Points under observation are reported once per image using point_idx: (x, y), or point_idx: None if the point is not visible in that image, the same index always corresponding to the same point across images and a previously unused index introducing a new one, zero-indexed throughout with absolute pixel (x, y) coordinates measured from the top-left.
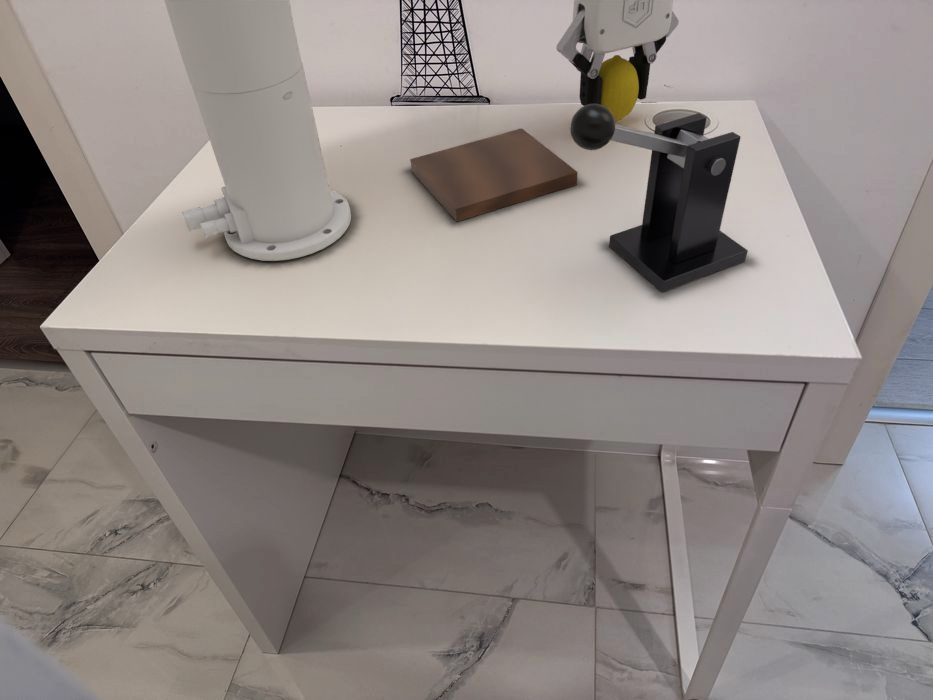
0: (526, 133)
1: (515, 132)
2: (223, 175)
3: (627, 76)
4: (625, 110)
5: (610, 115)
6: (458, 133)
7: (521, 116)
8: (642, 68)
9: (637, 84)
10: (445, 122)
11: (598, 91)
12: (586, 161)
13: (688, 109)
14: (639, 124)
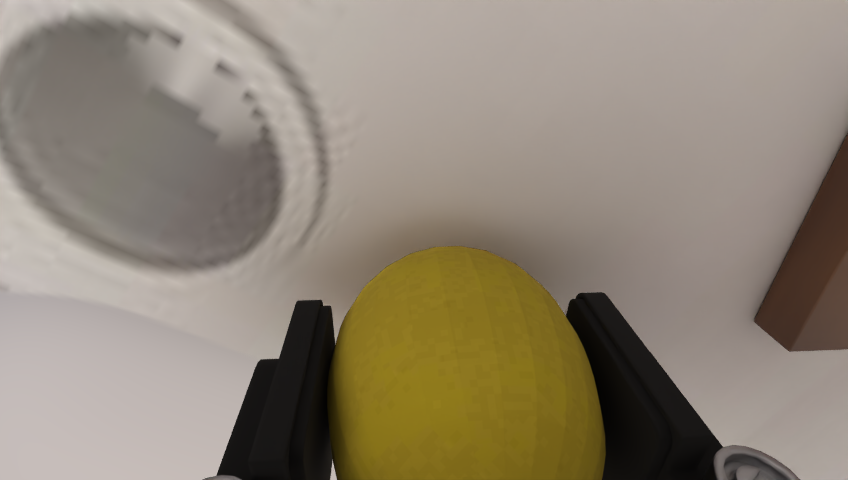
0: (819, 313)
1: (831, 336)
2: None
3: (488, 400)
4: (456, 250)
5: None
6: (822, 423)
7: None
8: (306, 452)
9: (379, 348)
10: None
11: (649, 365)
12: (744, 64)
13: (61, 236)
14: (340, 227)
